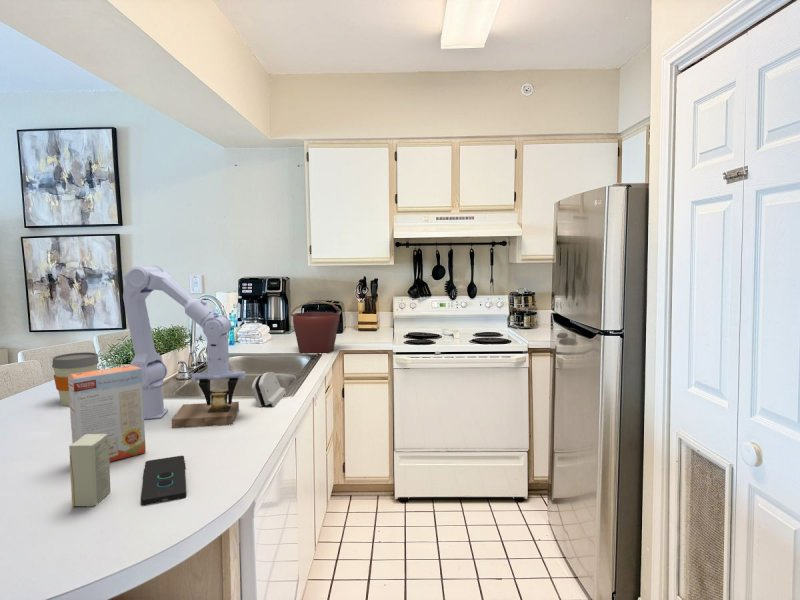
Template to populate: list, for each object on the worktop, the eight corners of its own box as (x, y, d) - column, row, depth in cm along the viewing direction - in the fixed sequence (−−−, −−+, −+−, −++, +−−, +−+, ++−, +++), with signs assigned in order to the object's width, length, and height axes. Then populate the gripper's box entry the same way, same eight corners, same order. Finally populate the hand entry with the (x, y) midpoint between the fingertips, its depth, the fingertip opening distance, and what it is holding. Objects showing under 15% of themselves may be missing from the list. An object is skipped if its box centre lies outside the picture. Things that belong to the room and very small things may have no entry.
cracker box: (138, 446, 124) (134, 363, 122) (146, 453, 119) (142, 367, 118) (72, 462, 114) (67, 373, 112) (78, 471, 110) (73, 377, 108)
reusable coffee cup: (108, 400, 163) (106, 354, 162) (66, 410, 153) (63, 361, 151) (88, 394, 170) (86, 350, 169) (46, 403, 159) (44, 357, 158)
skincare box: (88, 492, 100) (85, 433, 99) (112, 491, 100) (109, 432, 99) (71, 508, 94) (67, 445, 93) (95, 507, 94) (92, 444, 93)
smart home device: (139, 499, 94) (144, 460, 112) (139, 508, 95) (145, 467, 113) (187, 491, 98) (184, 454, 116) (187, 499, 98) (185, 461, 116)
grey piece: (273, 407, 156) (262, 377, 155) (259, 412, 156) (248, 382, 155) (286, 392, 173) (276, 366, 172) (274, 397, 173) (263, 370, 172)
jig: (171, 428, 137) (171, 419, 137) (183, 412, 151) (183, 404, 150) (232, 424, 140) (232, 415, 140) (238, 409, 154) (238, 401, 154)
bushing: (207, 414, 142) (207, 393, 142) (211, 409, 148) (211, 389, 147) (227, 413, 143) (227, 393, 143) (230, 408, 149) (230, 388, 148)
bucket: (344, 348, 257) (344, 299, 255) (335, 356, 235) (334, 303, 233) (298, 347, 259) (297, 299, 257) (284, 355, 238) (283, 303, 235)
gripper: (188, 361, 139) (190, 409, 140) (242, 359, 142) (243, 406, 143) (193, 356, 146) (195, 402, 147) (245, 355, 149) (246, 399, 150)
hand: (219, 403), depth 146 cm, fingers closed on bushing, 5 cm apart
